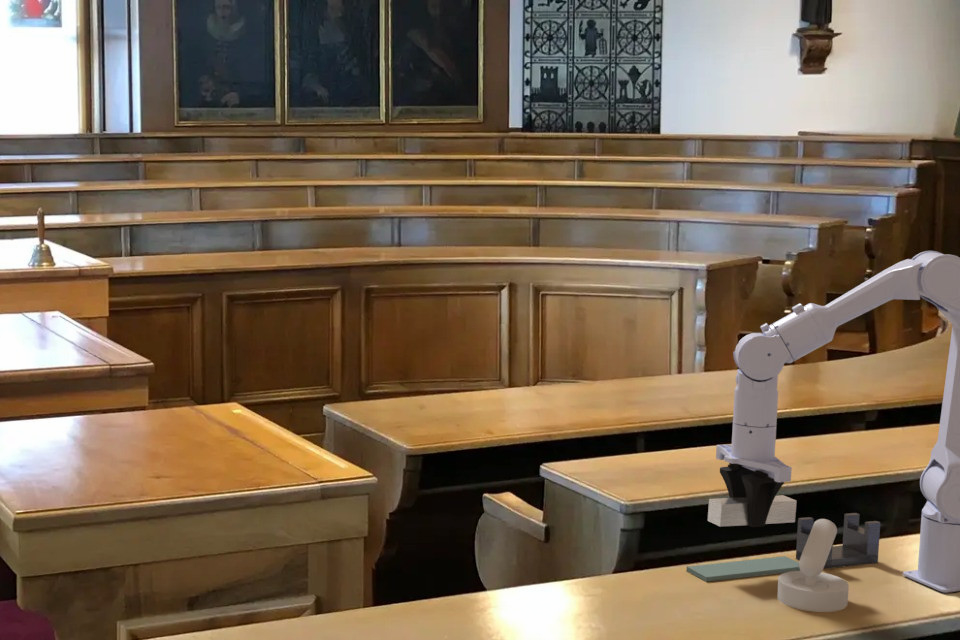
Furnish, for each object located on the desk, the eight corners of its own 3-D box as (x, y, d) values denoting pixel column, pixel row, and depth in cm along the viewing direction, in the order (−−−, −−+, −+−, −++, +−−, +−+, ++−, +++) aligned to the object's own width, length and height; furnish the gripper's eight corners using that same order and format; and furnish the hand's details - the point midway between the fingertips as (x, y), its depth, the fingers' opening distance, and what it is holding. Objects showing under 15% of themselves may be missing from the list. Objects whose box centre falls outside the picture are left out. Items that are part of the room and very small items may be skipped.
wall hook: (860, 521, 163) (843, 540, 154) (856, 594, 164) (839, 616, 155) (793, 512, 167) (773, 529, 158) (789, 582, 168) (769, 604, 159)
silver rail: (781, 516, 176) (783, 495, 176) (794, 522, 173) (796, 500, 173) (707, 520, 171) (709, 498, 171) (720, 526, 168) (721, 504, 168)
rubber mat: (784, 560, 178) (785, 556, 178) (806, 570, 174) (806, 566, 174) (686, 570, 172) (686, 566, 172) (706, 581, 167) (706, 577, 167)
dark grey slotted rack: (853, 552, 183) (855, 512, 182) (877, 562, 178) (880, 522, 177) (795, 558, 179) (798, 518, 178) (819, 569, 174) (821, 528, 174)
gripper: (699, 414, 176) (694, 511, 177) (761, 435, 162) (755, 539, 164) (742, 412, 178) (737, 507, 180) (807, 432, 165) (800, 535, 167)
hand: (749, 522), depth 172 cm, fingers closed on silver rail, 3 cm apart
